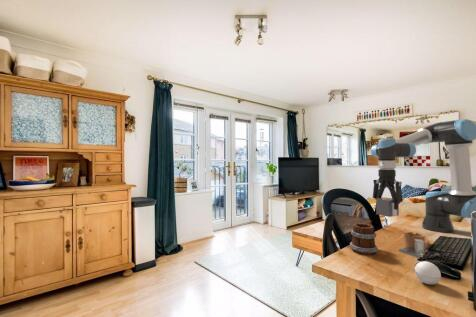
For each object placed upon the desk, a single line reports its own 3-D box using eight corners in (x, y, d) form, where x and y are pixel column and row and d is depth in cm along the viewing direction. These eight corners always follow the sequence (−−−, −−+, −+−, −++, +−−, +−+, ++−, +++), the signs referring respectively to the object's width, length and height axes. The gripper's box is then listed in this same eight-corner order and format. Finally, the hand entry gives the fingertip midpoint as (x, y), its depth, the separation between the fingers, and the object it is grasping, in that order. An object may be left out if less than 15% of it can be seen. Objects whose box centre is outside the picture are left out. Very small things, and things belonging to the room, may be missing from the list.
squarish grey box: (385, 212, 131) (385, 197, 131) (398, 215, 124) (398, 199, 124) (376, 213, 128) (376, 198, 128) (389, 216, 121) (389, 200, 121)
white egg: (415, 276, 91) (415, 256, 91) (441, 282, 86) (441, 261, 86) (411, 286, 83) (411, 265, 83) (440, 294, 79) (440, 271, 79)
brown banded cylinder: (344, 250, 116) (346, 217, 118) (356, 248, 125) (358, 218, 127) (371, 257, 107) (373, 222, 109) (381, 254, 117) (383, 222, 119)
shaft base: (414, 247, 120) (414, 235, 120) (440, 256, 110) (440, 242, 110) (399, 251, 116) (399, 238, 116) (424, 259, 105) (424, 245, 105)
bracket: (422, 253, 114) (422, 238, 114) (401, 248, 120) (401, 234, 120) (430, 243, 127) (430, 230, 127) (410, 239, 133) (410, 227, 133)
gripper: (364, 168, 134) (364, 211, 134) (401, 170, 115) (401, 219, 115) (374, 168, 137) (374, 209, 137) (412, 169, 118) (412, 217, 118)
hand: (387, 214), depth 126 cm, fingers closed on squarish grey box, 7 cm apart
